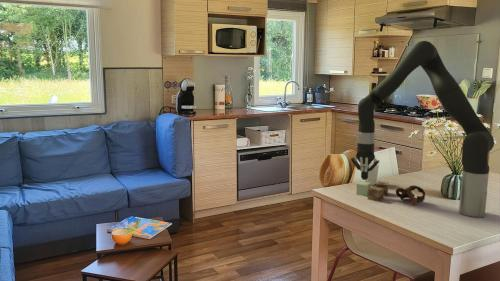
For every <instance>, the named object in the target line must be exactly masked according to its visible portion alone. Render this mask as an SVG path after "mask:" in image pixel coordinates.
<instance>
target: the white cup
mask: <svg viewBox="0 0 500 281" xmlns="http://www.w3.org/2000/svg"><path fill="white" fill-rule="evenodd" d="M373 164H374V163H373V161H372V162H371V163H370V166H369V168H370V167H371V166H372V165H373ZM379 166H380V165H379V163H378V164H377V165H376V166H375V167H374V169H373V170H371V171H368V178H367V179H366V180H362V181H361V182H367V183H371V186H376V185H375V184H376V183H377V181H378V174H379Z"/></svg>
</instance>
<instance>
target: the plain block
mask: <svg viewBox="0 0 500 281" xmlns="http://www.w3.org/2000/svg"><path fill="white" fill-rule="evenodd" d="M370 187H372V185H371V183H367V182H362V181H359V182H357V183H356V190H355V191H356V192H355V194H356V195H357V196H364V197H368V188H370Z"/></svg>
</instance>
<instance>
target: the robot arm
mask: <svg viewBox="0 0 500 281" xmlns="http://www.w3.org/2000/svg"><path fill="white" fill-rule="evenodd" d="M419 67H421V68H422V69H423V71H424V72H425V74H426V75H427V76H428V78H429V80H430V82H431V86H432V88H433V91H434V93H435V96H436V97H437V99H438V101H439V103H440V104H441V106H442V107H443V109H444V110H445V111H446V113H448V115H449V116H451V118H453V119H454V120H455V121H456V122H457V123H458V124H459V126H461V128H462V130H463V131H464V133H465V137H464V138H463V142H462V147H461V148H462V150H461V164H462V173H461V174H462V175H461V184H460V186H461V187H460V196H459V206H458V207H459V208H458V213H460V214H461V215H464V216H467V217H473V218H484V217H485V215H486V209H487V208H486V207H487V199H488V198H487V197H488V183H489V175H490V165H489V164H488V156H489V154H488V153H489V152H490V151H492V149H493V148H494V146H495V139H494V136H493V135H492V133H491V132H490V131H489V130H488V128H487V127H486V125H485V124H484V123H483V122H482V120H481V119H480V118H479V117H478V115H477V113H476V111H475V110H474V108H473V106H472V105H471V103H470V101H469V100H468V98H467V96H466V94H465V93H464V91H463V89H462V88H461V86H460V85H459V83H458V81H457V80H456V79H455V78H454V77H453V75H451V73H450V72H449V71H448V69H447V68H446V66H445V64H444V62H443V60H442V58H441V55H440V54H439V52H438V48H437V47H436V46H435V45H434V44H433V43H432V42H430V41H428V40H420V41H418V42H417V43H415V44H414V45H413V47H412V48H411V49H410V50H409V51H408V53H407V54H406V55H405V57H404V58H403V59H402V60H401V61H400V62H399V64H398V65H397V66H396V67H395V68H394V69H393V70H391V72H390V73H389V74H388V75H387V76H386V77H385V78H384V79H382V81H380V82H379V83H378V84H377V85H375V87H374V89H373V90H372V91H370V93H368V95H366V96H365V97H364V98H362V99H360V100H359V102H358V105H357V114H358V115H357V116H358V129H357V130H358V132H357V140H356V141H357V143H356V144H357V145H356V154H355V156H354V157H352V158H351V159H350V160H351V162H352V163H353V166H354V167H355V168H356V169H357V170H359V171H360V178H361V179H362V180H366V179H367V178H368V171H371V170H373V169H374V167H375V166H376V165H377V164H379V163H380V160H379V159H377V158H376V155H375V145H376V144H375V142H376V139H375V138H376V137H375V135H376V134H375V130H376V129H375V128H376V126H375V125H376V123H375V120H374V117H375V111H376V109H378V107H379V106H380V105H381V104H382V103H383V102H384V101H385V100H387V99H388V98H389V97H391V96H392V94H394V93H395V92H396V91H398V89H399V88H400V87H401V85H402V84H403V83H404V81H405V80H406V79H408V78H407V77H409V76H410V75H411V73H412V72H413V71H415V70H416V69H417V68H419ZM371 162H373V163H374V164H373V165H372V166H371V167H370V168H369V166H370V163H371Z"/></svg>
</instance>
